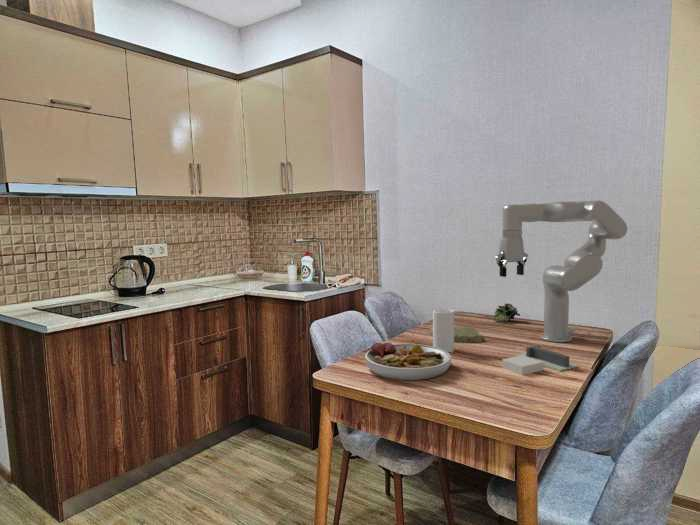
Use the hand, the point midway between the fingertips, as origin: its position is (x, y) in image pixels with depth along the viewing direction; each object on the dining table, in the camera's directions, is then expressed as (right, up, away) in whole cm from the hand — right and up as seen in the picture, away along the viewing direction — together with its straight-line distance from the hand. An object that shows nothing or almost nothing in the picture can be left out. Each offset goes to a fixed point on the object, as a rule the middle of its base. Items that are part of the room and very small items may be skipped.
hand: (511, 275), depth 191 cm
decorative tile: (-21, -28, +12) cm, 37 cm away
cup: (-30, -30, -7) cm, 43 cm away
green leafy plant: (+11, -25, +40) cm, 49 cm away
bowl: (-47, -33, -28) cm, 64 cm away
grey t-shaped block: (+5, -30, -26) cm, 40 cm away
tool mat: (+4, -31, -24) cm, 39 cm away
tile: (-3, -30, -30) cm, 42 cm away
